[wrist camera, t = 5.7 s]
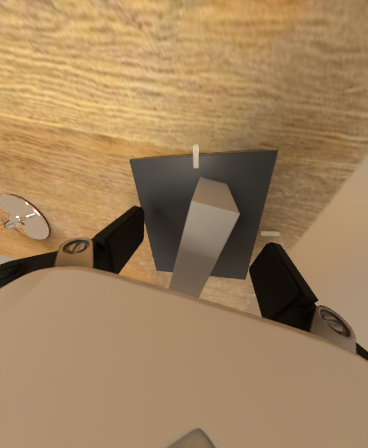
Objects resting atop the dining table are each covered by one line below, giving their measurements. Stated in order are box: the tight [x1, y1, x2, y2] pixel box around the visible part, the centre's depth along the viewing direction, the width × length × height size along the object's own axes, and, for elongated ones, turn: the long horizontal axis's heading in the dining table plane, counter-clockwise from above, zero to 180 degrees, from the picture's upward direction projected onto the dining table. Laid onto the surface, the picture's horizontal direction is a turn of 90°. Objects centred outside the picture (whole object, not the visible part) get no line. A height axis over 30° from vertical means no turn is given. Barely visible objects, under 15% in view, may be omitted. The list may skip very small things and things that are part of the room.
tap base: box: [130, 145, 280, 280], centre depth 13 cm, size 13×13×3 cm
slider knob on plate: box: [169, 177, 240, 298], centre depth 10 cm, size 9×2×5 cm, turn 168°
